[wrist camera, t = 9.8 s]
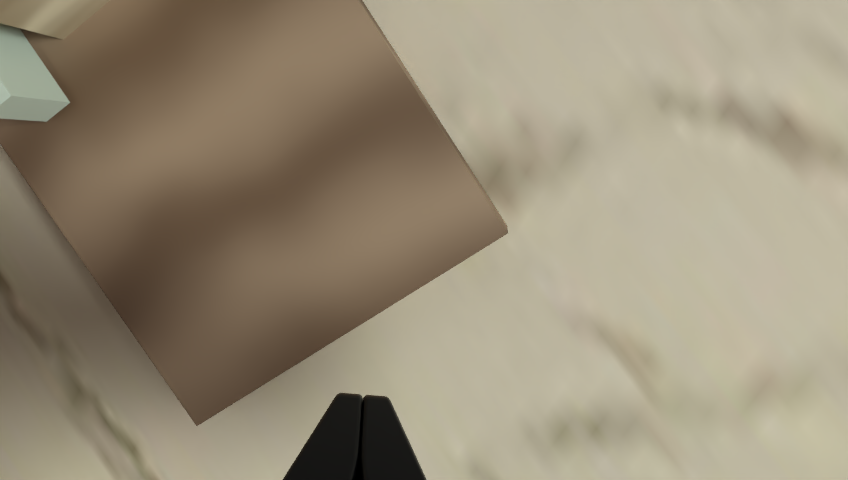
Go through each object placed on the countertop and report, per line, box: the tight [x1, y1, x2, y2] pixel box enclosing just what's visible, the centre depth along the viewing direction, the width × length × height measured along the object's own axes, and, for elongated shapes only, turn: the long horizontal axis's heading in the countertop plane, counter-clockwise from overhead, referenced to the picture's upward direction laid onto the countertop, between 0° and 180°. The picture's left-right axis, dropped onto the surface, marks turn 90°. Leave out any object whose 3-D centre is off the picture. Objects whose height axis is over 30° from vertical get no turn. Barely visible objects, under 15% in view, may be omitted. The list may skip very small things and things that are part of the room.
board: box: [0, 0, 508, 426], centre depth 19 cm, size 24×14×6 cm, turn 34°
